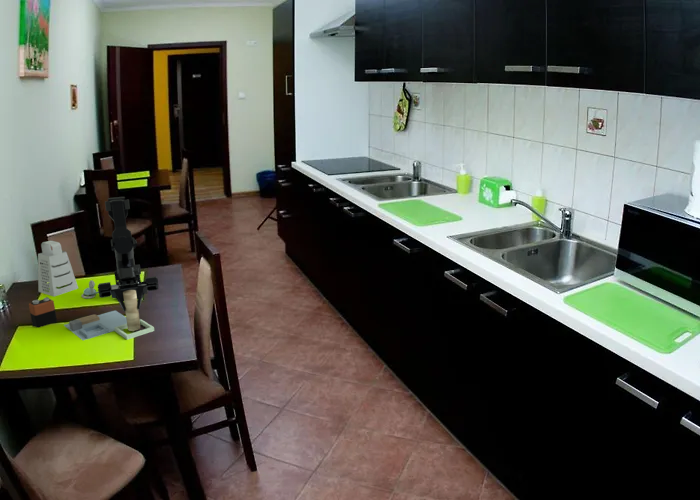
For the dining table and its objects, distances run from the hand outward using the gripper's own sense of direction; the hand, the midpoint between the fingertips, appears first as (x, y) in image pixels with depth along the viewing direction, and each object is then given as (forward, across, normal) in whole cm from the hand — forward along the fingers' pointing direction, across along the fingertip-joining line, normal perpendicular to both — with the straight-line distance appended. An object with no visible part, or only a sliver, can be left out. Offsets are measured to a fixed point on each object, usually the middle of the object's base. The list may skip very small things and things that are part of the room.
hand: (131, 310), depth 192 cm
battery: (-8, -28, +21) cm, 36 cm away
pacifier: (-25, -14, +39) cm, 49 cm away
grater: (-34, -26, +48) cm, 64 cm away
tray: (+6, 0, +7) cm, 9 cm away
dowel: (+4, 0, +6) cm, 7 cm away
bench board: (-2, -11, +15) cm, 18 cm away
